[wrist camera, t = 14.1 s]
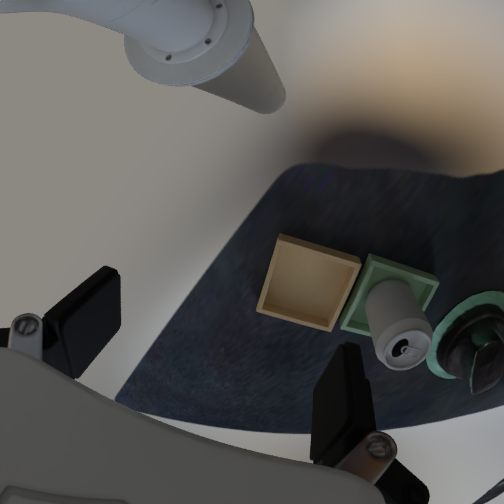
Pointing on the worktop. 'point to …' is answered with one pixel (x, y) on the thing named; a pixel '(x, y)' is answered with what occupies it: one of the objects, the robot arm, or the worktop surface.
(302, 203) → the worktop surface
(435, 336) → the black and teal hat
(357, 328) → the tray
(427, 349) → the can
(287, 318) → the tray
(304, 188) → the worktop surface
